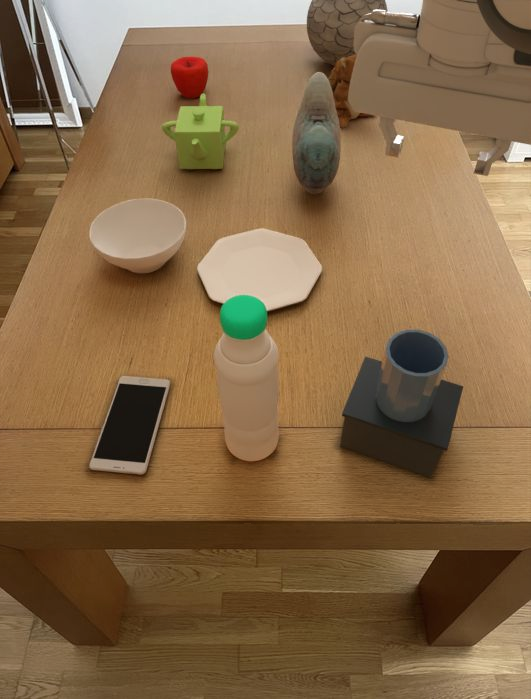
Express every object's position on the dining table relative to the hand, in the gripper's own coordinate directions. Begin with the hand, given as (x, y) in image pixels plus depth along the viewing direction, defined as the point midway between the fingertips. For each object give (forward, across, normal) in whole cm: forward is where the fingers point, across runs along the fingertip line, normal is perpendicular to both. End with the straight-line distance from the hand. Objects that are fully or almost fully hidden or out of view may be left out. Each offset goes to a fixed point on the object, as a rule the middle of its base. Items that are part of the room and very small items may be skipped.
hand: (436, 163), depth 60 cm
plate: (+32, -25, +8) cm, 41 cm away
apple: (+32, -66, +61) cm, 95 cm away
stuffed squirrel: (+32, -29, +66) cm, 79 cm away
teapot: (+32, -50, +36) cm, 69 cm away
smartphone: (+31, -29, -26) cm, 50 cm away
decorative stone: (+32, -25, +35) cm, 53 cm away
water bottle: (+32, -13, -22) cm, 41 cm away
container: (+31, +4, -14) cm, 34 cm away
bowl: (+32, -45, +4) cm, 55 cm away
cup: (+23, +4, -14) cm, 27 cm away
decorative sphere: (+32, -37, +90) cm, 102 cm away
